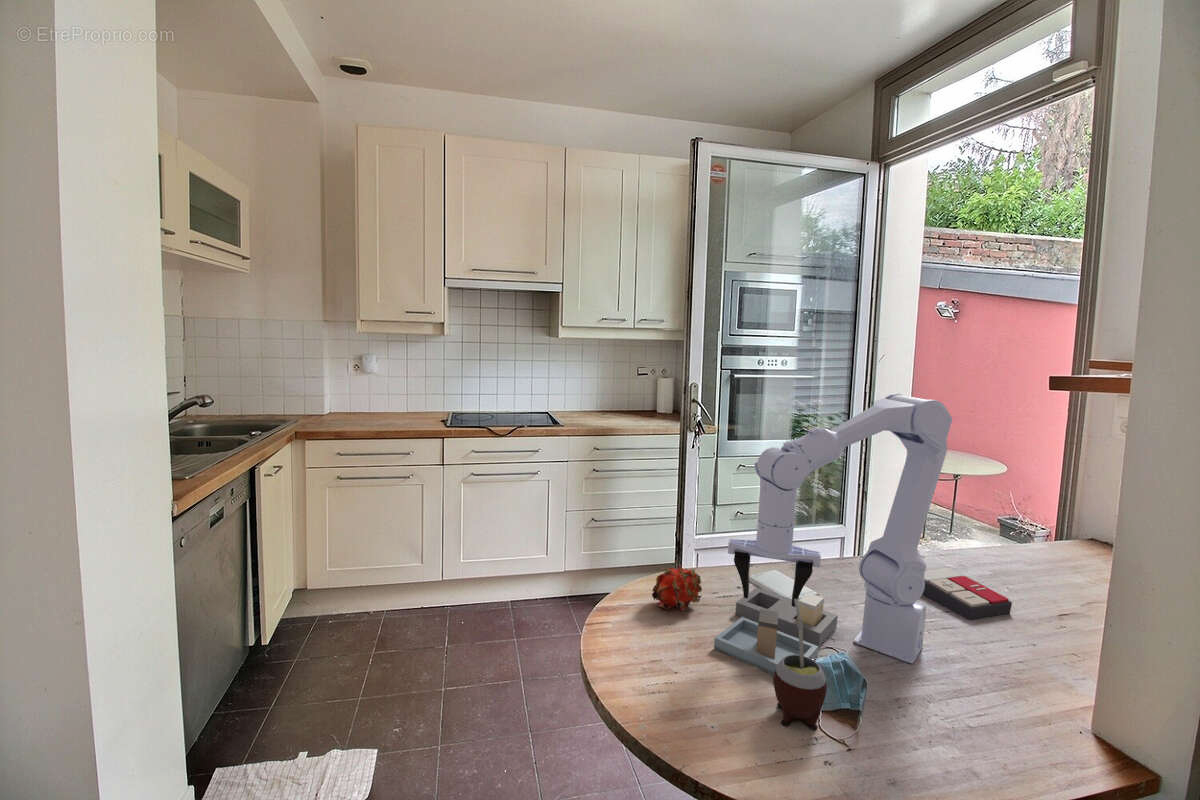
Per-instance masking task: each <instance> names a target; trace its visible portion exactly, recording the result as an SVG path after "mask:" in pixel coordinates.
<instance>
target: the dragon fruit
mask: <svg viewBox="0 0 1200 800" xmlns="http://www.w3.org/2000/svg"><path fill="white" fill-rule="evenodd" d="M655 581H656V583H655V585H654V586H653V588H652V591H651V592H652V594H651V596H652V599H653V601H659V602H658V603H657V607H658V608H659V609H660V608H663V609H665V610H667V609H670V608H673V607H675V608H677V609H679V610H680V611H681V612H684V611H685V610H687V609H688V608H689V606H690V604H691V602H692V603H695V604H696V603H699V602H700V599H701V597H702V594H700V595H699V593H701V592H702V590H703V587H702V586H701V584H702V579H701V575H699V574H698V573H696V570H695V569H693V568H689V569H687V568H683V567H682V565H680V564H679V565H677V568H674V567H668V568H667V569H666V570H665V571H664V572H662V573H661V574H659V575H658V576H657V577H656V578H655Z"/></svg>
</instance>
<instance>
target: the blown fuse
mask: <svg viewBox="0 0 1200 800" xmlns="http://www.w3.org/2000/svg"><path fill="white" fill-rule="evenodd" d="M777 625H778V612H774V611H769V610H764V609H760V614H759V623H758V636H757V648H756V653H758V654H761V655H763V656H766V657H768V658H772V659H775V650H776V638H777Z"/></svg>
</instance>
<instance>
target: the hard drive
mask: <svg viewBox="0 0 1200 800" xmlns="http://www.w3.org/2000/svg"><path fill="white" fill-rule="evenodd" d="M794 581H795V579H792V578H791V577H789V576H787V575H785V574H783V573H781V572H780V571H778V570H776V569H773V570H768V571H765V572H759V573H755V574H751V575H750V574H749V583H752V584H754V585H755V586H757V587H758V588H760V589H763V590H766V591H769V592H772V593H775V594H778V595H781V596H784V597H787V598H790V599H792V593H793V587H794ZM807 593H811V594H814V595H817V596H820V593H818V592H816V591H814V590H813V589H810V588H809V587H807V586H805V585H804V587H803V589H802V591H801V593H800V595H799V598H798V602H799V600H800V599H801V598H802V597H803V596H805V595H806V594H807Z"/></svg>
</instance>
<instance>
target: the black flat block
mask: <svg viewBox="0 0 1200 800" xmlns="http://www.w3.org/2000/svg"><path fill="white" fill-rule="evenodd" d="M924 580H925V588H924V591H923V594H922V595H921V596H923V597H926V598H928V599H929V600H931V601H933V602H934V603H936V604H938V605H939V606H942V607H943V608H945V609H947V610H949V611H951V612H953V614H956V615H958V616H960V617H962V618H963V619H965V620H967V621H977V620H984V619H990V618H996V617H1003V616H1008V615H1010V614H1011V610H1012V606H1013V602H1012V601H1010V599H1009V598H1008V597H1006V596H1004V595H1002V594H1001V593H998V592H996V591H995V590H993V589H991V588H988V587H987V586H985V585H983V584H982V583H979V582H977V581H976V580H974V579H971V578H970V577H968V576H966V575H963V574H961V573H959V572H956V571H954V570H953V569H951V568H948V567H946V568H944V567H943V568H938V569H930V570H925V573H924Z"/></svg>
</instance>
